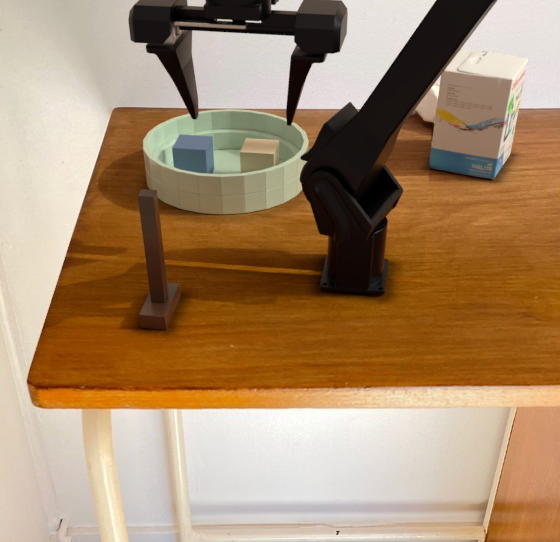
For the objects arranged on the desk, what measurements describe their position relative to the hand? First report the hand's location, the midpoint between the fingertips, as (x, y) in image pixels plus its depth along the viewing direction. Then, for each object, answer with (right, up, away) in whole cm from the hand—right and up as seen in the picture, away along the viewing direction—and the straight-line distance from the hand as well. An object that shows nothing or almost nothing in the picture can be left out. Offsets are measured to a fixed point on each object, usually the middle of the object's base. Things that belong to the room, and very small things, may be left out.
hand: (242, 120), depth 81 cm
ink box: (+27, +6, +26) cm, 38 cm away
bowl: (-3, +2, +21) cm, 22 cm away
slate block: (-7, +3, +21) cm, 23 cm away
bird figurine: (+25, +14, +34) cm, 44 cm away
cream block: (+1, +2, +21) cm, 21 cm away
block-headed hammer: (-8, -18, +1) cm, 20 cm away
